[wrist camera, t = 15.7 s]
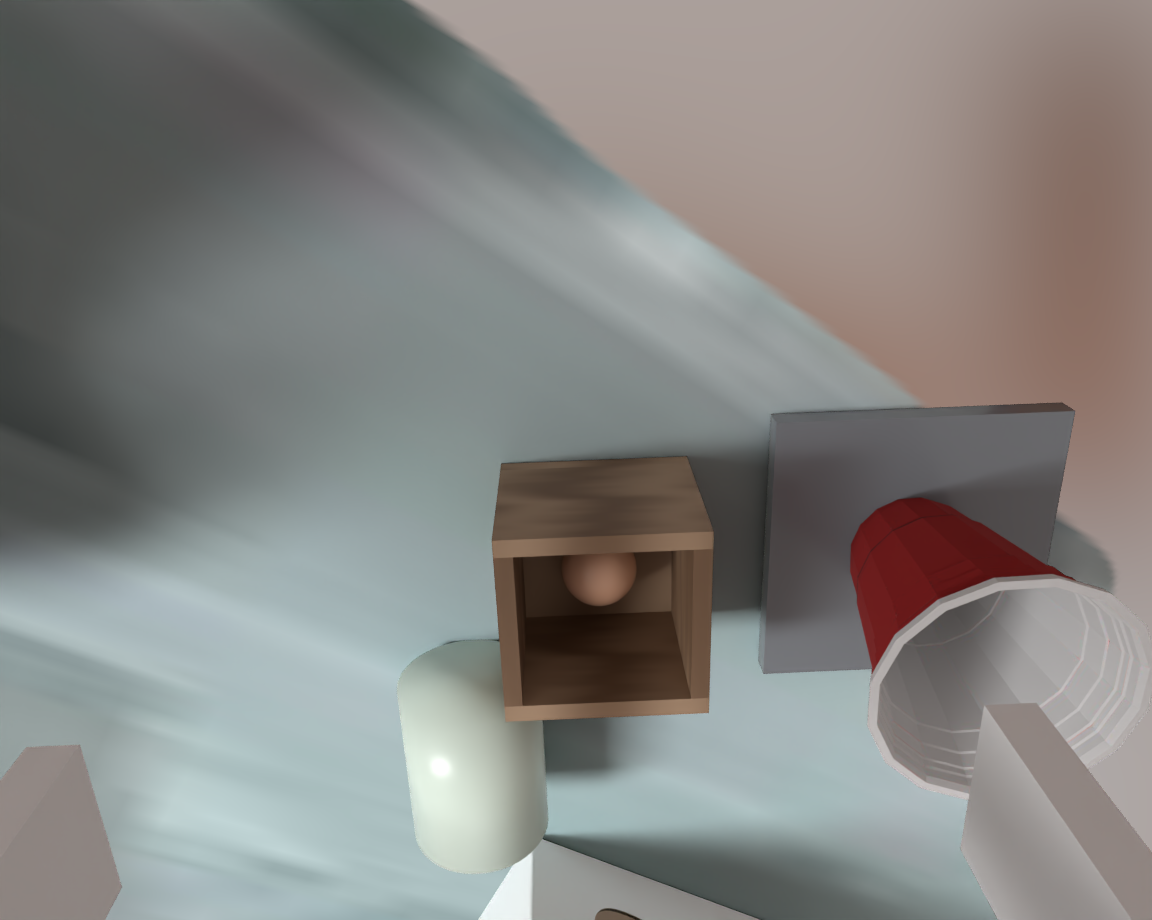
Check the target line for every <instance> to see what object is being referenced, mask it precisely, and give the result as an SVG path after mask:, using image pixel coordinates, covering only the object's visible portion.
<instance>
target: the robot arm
mask: <svg viewBox="0 0 1152 920" xmlns="http://www.w3.org/2000/svg"><path fill="white" fill-rule="evenodd" d="M960 849H961V851H962V853H963V855H964V857H965V859H966V861H967V862H968V864H969V866H970V868H971V870H972V872H973V874H974V876H975V878H976V879H977V881H978V883H979V885H980V887H981V889H982V891H983V893H984V895H985V896H986V898H987V900H988V902H989V904H990V906H991V908H992V910H993V912H994V913H995V915H996V917H997V919H998V920H1152V852H1151V851H1150V849H1149V848H1148V847H1147V845H1146V844H1145V843H1144V841H1143V840H1142V839H1141V838H1140V836H1139V835H1138V834H1137V832H1136V831H1135V830H1134V828H1133V827H1132V826H1131V825H1130V823H1129V822H1128V821H1127V819H1126V818H1125V817H1124V816H1123V814H1122V813H1121V812H1120V811H1119V809H1118V808H1117V807H1116V805H1115V804H1114V803H1113V801H1112V800H1111V799H1110V797H1109V796H1108V795H1107V794H1106V792H1105V791H1104V790H1103V789H1102V787H1101V786H1100V785H1099V783H1098V782H1097V781H1096V779H1095V778H1094V777H1093V775H1092V774H1091V773H1090V772H1089V770H1088V769H1087V768H1086V766H1085V765H1084V764H1083V763H1082V761H1081V760H1080V759H1079V757H1078V756H1077V755H1076V753H1075V752H1074V751H1073V750H1072V748H1071V747H1070V746H1069V744H1068V743H1067V742H1066V741H1065V739H1064V738H1063V737H1062V735H1061V734H1060V733H1059V731H1058V730H1057V729H1056V728H1055V726H1054V725H1053V724H1052V722H1051V721H1050V720H1049V719H1048V717H1047V716H1046V715H1045V713H1044V712H1043V711H1042V709H1041V708H1040V707H1039V706H1038V704H1037V703H1019V704H996V705H984V709H983V715H982V721H981V727H980V733H979V739H978V745H977V751H976V757H975V763H974V769H973V775H972V781H971V787H970V793H969V799H968V805H967V811H966V817H965V823H964V829H963V835H962V841H961V847H960ZM121 888H122V885H121V882H120V879H119V875H118V872H117V869H116V865H115V862H114V859H113V855H112V852H111V848H110V845H109V842H108V838H107V835H106V832H105V828H104V825H103V821H102V818H101V815H100V811H99V808H98V805H97V801H96V798H95V795H94V791H93V788H92V784H91V781H90V778H89V774H88V771H87V768H86V764H85V761H84V757H83V754H82V751H81V747H80V745H63V746H40V747H26V748H25V749H24V751H23V752H22V753H21V755H20V756H19V757H18V758H17V760H16V761H15V762H14V764H13V765H12V766H11V768H10V769H9V770H8V771H7V773H6V774H5V775H4V777H3V778H2V779H1V780H0V920H105V919H106V917H107V915H108V913H109V911H110V909H111V907H112V905H113V903H114V901H115V900H116V898H117V896H118V894H119V892H120V890H121Z"/></svg>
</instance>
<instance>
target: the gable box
mask: <svg viewBox="0 0 1152 920" xmlns="http://www.w3.org/2000/svg"><path fill="white" fill-rule="evenodd" d="M479 920H759V919H757V918H754V917H751V916H749V915H746V914H743V913H741V912H738V911H735V910H732V909H730V908H727V907H724V906H722V905H719V904H716V903H713V902H711V901H708V900H705V899H703V898H700V897H697V896H695V895H692V894H689V893H686V892H684V891H681V890H678V889H676V888H673V887H670V886H668V885H665V884H662V883H659V882H657V881H654V880H651V879H649V878H646V877H643V876H640V875H638V874H635V873H632V872H630V871H627V870H624V869H622V868H619V867H616V866H613V865H611V864H608V863H605V862H603V861H600V860H597V859H595V858H592V857H589V856H586V855H584V854H581V853H578V852H576V851H573V850H570V849H567V848H565V847H562V846H559V845H557V844H554V843H551V842H549V841H546V840H543V839H542V840H541V842H540V843H539V845H538V846H537V847H536V848H535V849H534V850H533V851H532V852H531V853H530V854H529V855H528V856H527V857H525V858H524V859H522V860H521V861H519V862H517V863H516V864H514V865H513V866H512V868H511V869H510V871H509V873H508V874H507V876H506V877H505V879H504V880H503V882H502V884H501V885H500V887H499V888H498V890H497V891H496V893H495V894H494V896H493V898H492V899H491V901H490V902H489V904H488V905H487V907H486V909H485V910H484V912H483V913H482V915H481V916H480V918H479Z"/></svg>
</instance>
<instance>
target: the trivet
mask: <svg viewBox="0 0 1152 920" xmlns="http://www.w3.org/2000/svg"><path fill="white" fill-rule="evenodd" d="M1074 415H1075V411H1074V410H1073V409H1071V408H1070V407H1068V406H1067V405H1065V404H1063V403H1040V404H1016V405H1015V404H1014V405H989V406H964V407H940V408H914V409H889V410H864V411H839V412H814V413H789V414H771V423H770V443H769V462H768V482H767V501H766V521H765V540H764V560H763V579H762V599H761V618H760V638H759V657H758V661H759V664H760V666H761V669H762V672H763V674H768V673H791V672H814V671H837V670H861V669H872V665H871V661H870V656H869V652H868V648H867V644H866V640H865V636H864V631H863V627H862V623H861V619H860V615H859V610H858V606H857V594H856V591H855V587H854V583H853V580H852V576H851V573H850V555H851V543H852V541H853V539H854V537H855V534H856V532H857V530H858V528H859V526H860V524H862V523H863V522H864V521H865V520H866V519H867V518H868V517H869V516H870V515H871V514H872V513H873V512H874V511H875V510H876V509H878V508H880V507H882V506H885V505H887V504H889V503H891V502H893V501H896V500H898V499H907V498H919V497H922V498H925V499H929V500H932V501H935V502H939V503H942V504H945V505H949V506H951V507H952V508H954V509H956V510H957V511H959V512H960V513H962V514H963V515H965V516H967V517H968V518H970V519H971V520H973V521H977V522H980V523H982V524H983V525H985V526H986V527H988V528H990V529H991V530H993V531H994V532H996V533H997V534H999V535H1000V536H1002V537H1004V538H1005V539H1007V540H1008V541H1010V542H1011V543H1013V544H1015V545H1016V546H1018V547H1019V548H1021V549H1022V550H1024V551H1025V552H1027V553H1029V554H1030V555H1032V556H1033V557H1035V558H1036V559H1038V560H1039V561H1041V562H1043V563H1044V564H1046V565H1047V561H1048V556H1049V550H1050V545H1051V539H1052V534H1053V529H1054V523H1055V518H1056V513H1057V507H1058V502H1059V496H1060V491H1061V486H1062V480H1063V474H1064V469H1065V464H1066V458H1067V453H1068V448H1069V442H1070V437H1071V432H1072V426H1073V420H1074Z"/></svg>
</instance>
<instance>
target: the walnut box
mask: <svg viewBox="0 0 1152 920" xmlns="http://www.w3.org/2000/svg"><path fill="white" fill-rule="evenodd" d="M713 541H714V531H713V528H712V525H711V522H710V520H709V517H708V514H707V511H706V509H705V506H704V503H703V500H702V497H701V495H700V492H699V489H698V486H697V483H696V481H695V478H694V475H693V472H692V469H691V467H690V464H689V461H688V458H687V456H682V457H658V458H633V459H608V460H584V461H559V462H534V463H510V464H501V469H500V478H499V486H498V494H497V502H496V510H495V519H494V527H493V535H492V550H493V563H494V576H495V589H496V603H497V616H498V629H499V642H500V655H501V668H502V681H503V695H504V708H505V721H506V722H512V721H535V720H557V719H580V718H603V717H626V716H649V715H671V714H694V713H709V686H710V650H711V613H712V577H713ZM629 552H633V553H634V556H635V559H636V566H637V571H636V577H635V581H634V584H633V585H632V587H631V589H630V590H629V592H628V593H627V594H626V595H625V596H624V597H623V598H622V599H620V600H619V601H617V602H615V603H613V604H610V605H606V606H592V605H588V604H585V603H583V602H581V601H579V600H578V599H576V598H575V597H574V596H573V595H572V594H571V593H570V592H569V590H568V589H567V587H566V586H565V583H564V581H563V578H562V572H561V564H562V558H563V555H581V554H605V553H629Z"/></svg>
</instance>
